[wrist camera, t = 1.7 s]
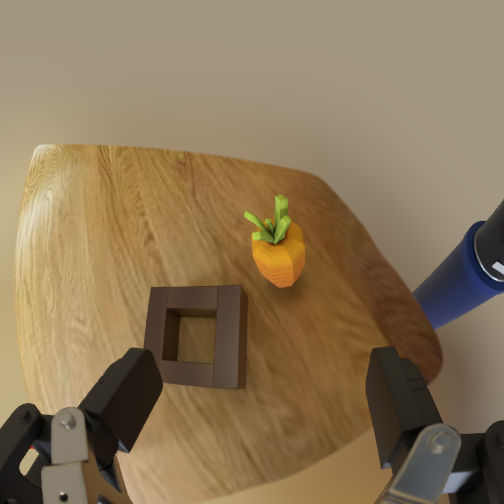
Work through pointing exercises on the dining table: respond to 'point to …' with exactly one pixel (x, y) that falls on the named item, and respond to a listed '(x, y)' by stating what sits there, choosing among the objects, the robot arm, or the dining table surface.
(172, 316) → the socket block
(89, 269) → the dining table surface
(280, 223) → the carrot
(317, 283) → the dining table surface
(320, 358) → the dining table surface
